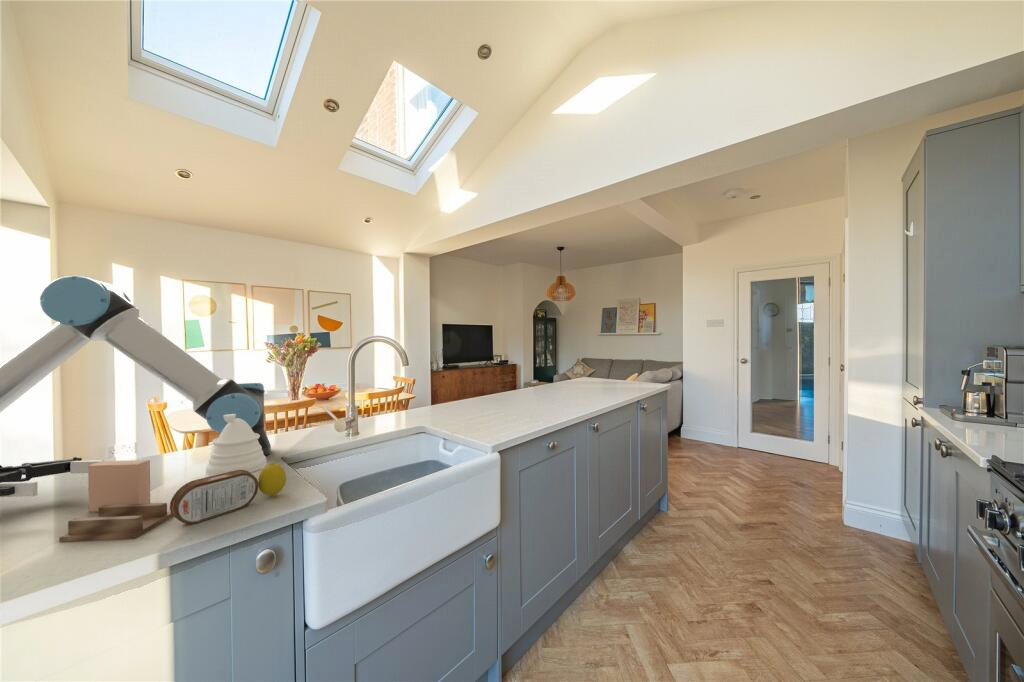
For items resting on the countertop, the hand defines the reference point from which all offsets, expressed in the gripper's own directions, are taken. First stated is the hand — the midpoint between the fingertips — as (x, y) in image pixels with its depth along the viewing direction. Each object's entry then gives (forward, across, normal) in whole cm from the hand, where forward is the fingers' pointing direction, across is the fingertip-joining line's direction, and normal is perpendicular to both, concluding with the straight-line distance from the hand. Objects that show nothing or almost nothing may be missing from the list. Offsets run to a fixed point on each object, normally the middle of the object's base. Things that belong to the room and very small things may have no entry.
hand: (71, 476), depth 84 cm
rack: (+19, +10, -7) cm, 22 cm away
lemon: (+41, -3, -7) cm, 41 cm away
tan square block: (+10, 0, -7) cm, 12 cm away
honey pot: (+27, -13, -7) cm, 31 cm away
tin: (+34, +6, -7) cm, 35 cm away
